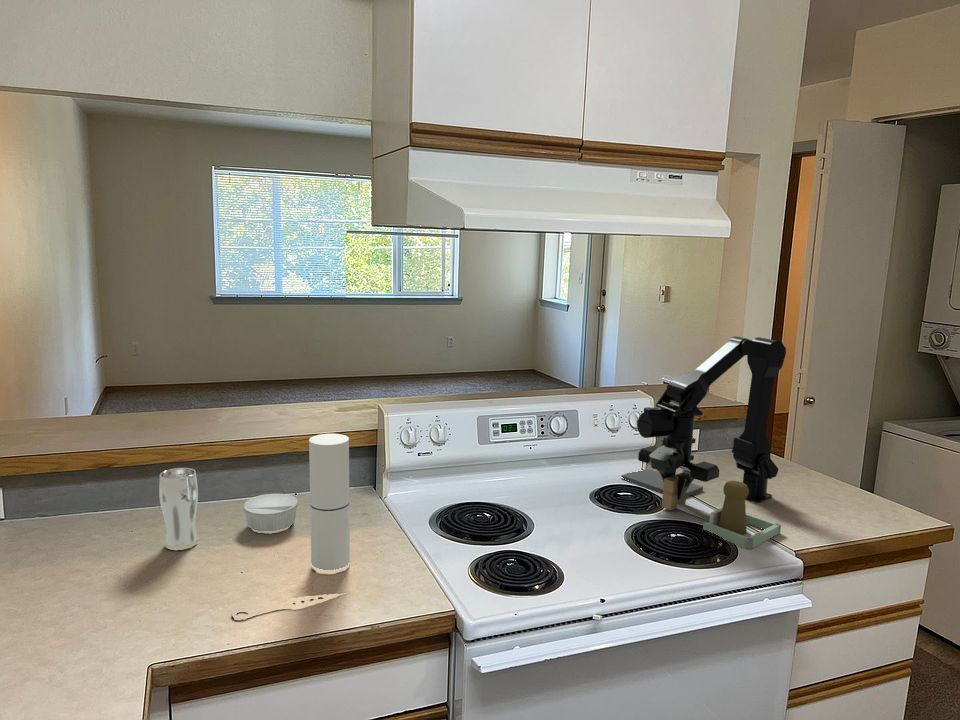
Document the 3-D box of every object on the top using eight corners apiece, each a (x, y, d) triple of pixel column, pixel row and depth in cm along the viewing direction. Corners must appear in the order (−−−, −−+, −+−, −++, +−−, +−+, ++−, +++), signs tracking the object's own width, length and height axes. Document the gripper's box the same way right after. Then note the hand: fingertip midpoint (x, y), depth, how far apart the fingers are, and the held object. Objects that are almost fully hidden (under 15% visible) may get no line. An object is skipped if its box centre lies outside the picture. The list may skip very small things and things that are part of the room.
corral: (733, 517, 161) (734, 509, 161) (780, 533, 153) (781, 524, 152) (702, 531, 153) (703, 523, 152) (749, 549, 144) (750, 540, 144)
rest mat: (644, 471, 191) (644, 467, 191) (702, 490, 177) (703, 486, 177) (621, 478, 184) (621, 475, 184) (680, 499, 171) (680, 495, 171)
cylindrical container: (316, 578, 128) (314, 446, 123) (307, 561, 134) (304, 436, 130) (354, 570, 131) (353, 442, 127) (343, 554, 137) (342, 431, 133)
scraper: (677, 500, 169) (680, 472, 167) (729, 519, 158) (732, 490, 157) (660, 507, 164) (662, 479, 163) (712, 527, 154) (715, 497, 153)
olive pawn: (740, 538, 150) (745, 489, 148) (713, 530, 154) (717, 482, 152) (750, 530, 154) (755, 482, 152) (724, 522, 158) (728, 475, 156)
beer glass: (208, 541, 141) (204, 470, 139) (180, 555, 135) (176, 481, 132) (182, 534, 144) (179, 465, 142) (154, 547, 138) (150, 475, 135)
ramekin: (257, 542, 142) (256, 517, 141) (235, 524, 150) (234, 500, 149) (307, 528, 149) (307, 504, 148) (284, 511, 158) (283, 489, 157)
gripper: (626, 430, 164) (621, 493, 167) (695, 450, 150) (689, 518, 153) (654, 422, 171) (649, 483, 174) (723, 441, 157) (717, 507, 160)
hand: (674, 497), depth 165 cm, fingers closed on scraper, 2 cm apart
